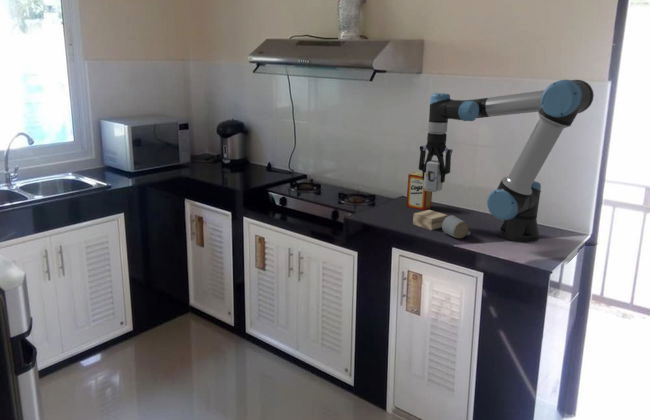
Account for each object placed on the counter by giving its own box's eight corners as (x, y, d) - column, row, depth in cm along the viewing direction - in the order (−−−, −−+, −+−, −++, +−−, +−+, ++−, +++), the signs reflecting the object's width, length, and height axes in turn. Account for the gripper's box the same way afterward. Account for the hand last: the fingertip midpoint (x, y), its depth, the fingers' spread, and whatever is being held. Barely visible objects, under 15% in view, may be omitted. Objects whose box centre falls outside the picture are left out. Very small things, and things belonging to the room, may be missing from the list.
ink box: (429, 186, 233) (431, 159, 230) (441, 188, 231) (443, 160, 228) (423, 191, 225) (425, 162, 222) (436, 192, 223) (438, 163, 220)
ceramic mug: (454, 240, 213) (456, 221, 211) (440, 234, 220) (442, 215, 218) (475, 237, 218) (477, 219, 216) (461, 231, 225) (463, 213, 223)
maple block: (446, 226, 232) (447, 215, 230) (431, 230, 225) (432, 219, 224) (428, 220, 239) (429, 209, 238) (412, 224, 233) (413, 213, 231)
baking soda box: (431, 207, 259) (433, 174, 254) (424, 210, 254) (427, 176, 249) (413, 204, 264) (415, 171, 260) (406, 206, 259) (408, 173, 255)
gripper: (462, 134, 219) (457, 190, 225) (420, 129, 230) (416, 183, 236) (454, 136, 213) (449, 194, 220) (412, 131, 224) (408, 186, 230)
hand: (432, 188), depth 228 cm, fingers closed on ink box, 6 cm apart
